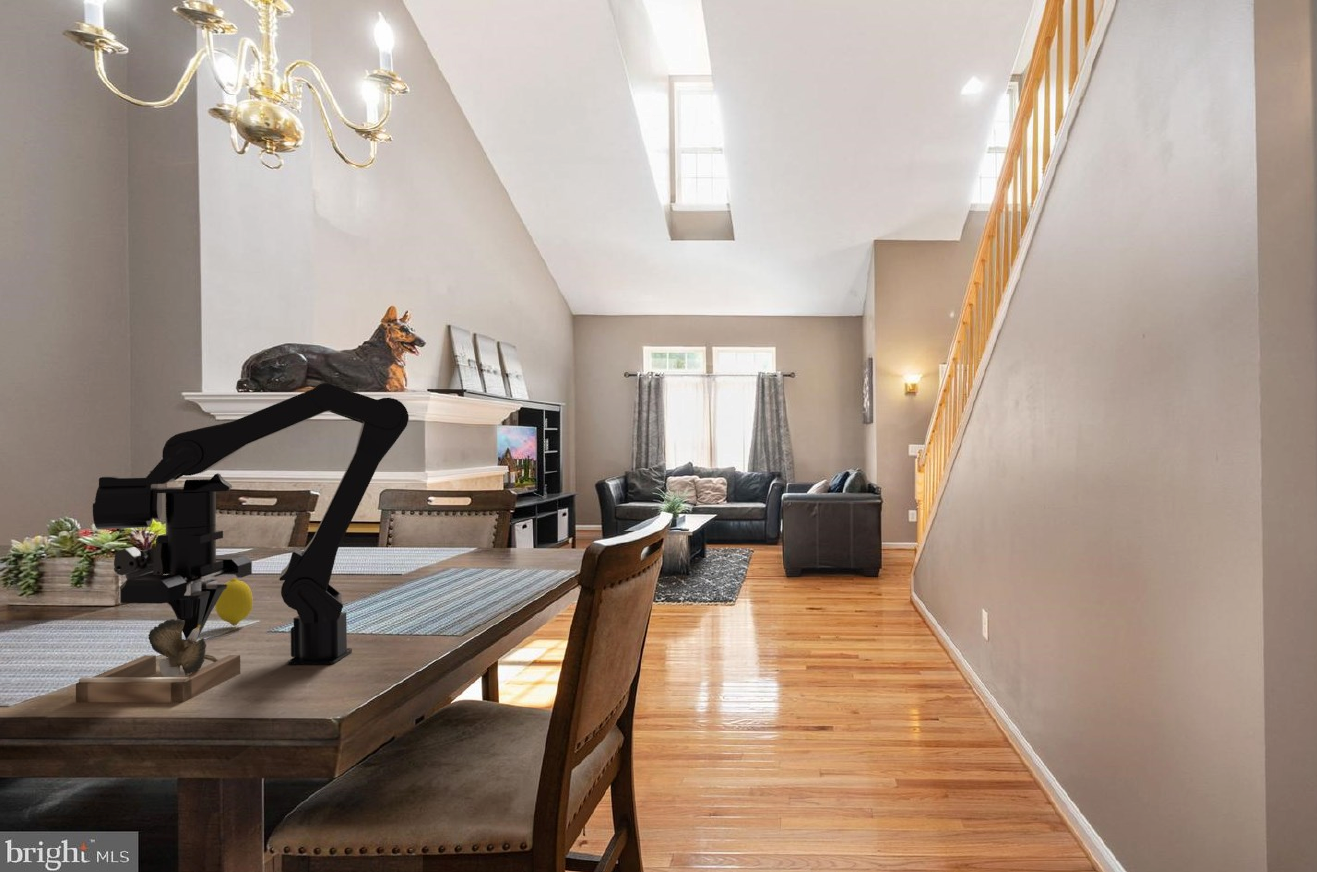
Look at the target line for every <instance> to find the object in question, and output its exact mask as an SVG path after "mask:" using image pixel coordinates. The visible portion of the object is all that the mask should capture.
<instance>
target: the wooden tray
mask: <svg viewBox="0 0 1317 872" xmlns="http://www.w3.org/2000/svg"><path fill="white" fill-rule="evenodd" d="M217 660H218V661H216V662H212V663H210V664H208V665H206V666H203V667H201V668H200V669H199V670H197V671H195V672H193V673H192V672H191V673H190V674H189V673H188V674H187V675H185V676H179V677H164V676H159V677H158V676H155V677H154V676H153V675H155V674H157V655H152V654H151V655H147V654H146V655H143V656H140V657H138V658H136V659H133V660H131V661H128V662H125V663H123V664H121V665H119V666H116V667H113V668H110V669H109V670H106V671H104V672H100V673H99V674H96V675H94V676H89V677H85V676H84V677H81V678H78V682H77V683H75V702H76V703H185V702H187V701H189V700H191V699H193V698H195V697H197V696H199V695H201V694H203V693H205V692H206V691H209V690H210V689H213V688H215V687H217V686H219V685H221V684H223V683H224V682H227V681H229V680H231V679H233V678H235V677H236V676H238V675H240V674H241V655H240V654H229V655H227V656H225V657H223V658H220V659H217Z"/></svg>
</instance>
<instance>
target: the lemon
mask: <svg viewBox="0 0 1317 872" xmlns="http://www.w3.org/2000/svg"><path fill="white" fill-rule="evenodd" d="M224 584H226V585H227V588H226V589H224V590H223V592H222V594H221V596H220V597H219V599H218V601H217V603H216V604H215V606H214V608H215V612H216V614H217V616H218V617H219V619H221V620H222V621H224V622H227V623H228V624H229V625H231V626H237V625H238V624H239V623H240V622H242V621H243V620H244V619H246V618H247V617H248V616H249V615H250V613H251V611H252V609H253V605H254V599H253V593H252V590H251V588H250V586H249V585H248V584H247V583H246V582H244V581H242V580H239V579H238V578H237V577H236V578H235V577H233V578H231V579H230V580H229V581H227V582H225V583H224Z"/></svg>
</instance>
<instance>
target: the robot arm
mask: <svg viewBox="0 0 1317 872" xmlns="http://www.w3.org/2000/svg"><path fill="white" fill-rule="evenodd" d="M328 412H329V413H332V414H335V415H338V416H340V417H343V418H346V419H348V420H352V421H354V422H358V423H360V424H361V427H360V430H359V434H358V438H357V443H356V446H355V450H354V453H353V455H352V457H351V459H350V462H349V463H348V465H347V468H346V469H345V471H344V473H343V476H342V478H341V480H340V482H339V484H338V485H337V487H336V490H335V492H334V494H333V496H332V498H331V500H330V502H329V505H328V507H327V508H326V511H325V512H324V514H323V517H322V519H321V521H320V523H319V525H318V527H317V529H316V531H315V533H314V535H313V537H312V539H311V540H310V541H309V543H308V544H307V545H306V546H305V547H304V549H303V550H301V549H300V548H299V547H296V546H294V547H293V549H292V553H291V556H290V559H289V562H288V564H287V565H286V566H285V568H284V569H282V571H281V572H280V575H279V578H278V580H279V581H282V584H281V590H280V595H281V598H282V601H283V602H284V604H285V605H286V606H287V607H289V608H290V609H293V610H294V611H296V612H297V613H296V614H297V616H295V617H293V626H292V627H291V628H290V630H289V631H290V633H289V634H290V657H291V658H290V659H288V660H287V665H334V664H336V663H337V662H338V661H341V660H342V659H343V658H345V657H347V656H348V655H349V654H350V653H352V652H353V648H351V647H348V644H347V643H348V637H347V635H348V634H347V633H348V631H347V630H348V629H347V627H348V626H347V621H348V619H347V618H348V617H347V616H348V615H347V612H345V611H344V612H343V611H342V610H343V608H344V603H343V597H342V596H343V595H342V593H340V591H338V590H337V589H336V588H334V587H333V586H332V585H331V584H330V582H331V576H332V574H333V570H334V565H335V562H336V557H337V554H338V549H339V548H340V545H341V543H342V541H343V539H344V537H345V535H346V532H347V530H348V529H349V527H350V525H351V522H352V520H353V519H354V516H355V514H356V512H357V510H358V508H359V506H360V504H361V502H362V499H363V498H364V495H365V494H366V491H367V489H368V487H369V485H370V483H371V481H372V479H373V476H374V475H375V472H376V470H377V468H378V466H379V464H380V463H381V462H382V460H383V458H384V457H385V456H386V455H387V453H388V452H389V451H390V449H391V448H392V447H393V446H394V445H395V443H396V442H397V440H398V439H399V438H400V437H401V435H402V433H403V432H404V431H405V429H406V427H407V426H408V423H409V420H410V419H409V417H410V416H409V411H408V409H407V408H406V405H404V404H403V402H401V401H400V400H399V399H396V398H393V397H382V398H379V399H375V398H373V397H370V396H367V395H364V394H361V393H358V392H354V391H351V390H349V389H345V388H342V387H340V386H337V385H336V384H334V383H331V382H324V383H323V382H322V383H319V384H317V385H316V386H315V387H313V388H311V389H309V390H307V391H304V392H302V393H299V394H297V395H294V396H291V397H290V398H287V399H284V400H282V401H280V402H277V403H274V404H272V405H269V406H267V407H265V408H263V409H260V410H258V411H255V412H252V413H250V414H247V415H245V416H243V417H240V418H238V419H235V420H233V421H228V422H224V423H220V424H214V425H210V426H206V427H200V428H196V429H192V430H188V431H184V432H183V431H182V432H179V433H176V434H174V435H172V436H171V437H170V438H169V439H167V440H166V441H165V444H164V447H163V448H162V459H161V460H160V461H159V462H158V463H157V464H156V465H155V467H153V468H152V470H150V471H149V473H148V474H147V476H146V477H119V476H101V477H99V478H98V486H97V487H98V488H97V489H96V493H95V499H94V502H93V503H92V518H93V523H94V526H95V527H94V528H95V529H96V530H115V529H116V530H117V529H119V530H120V529H121V530H122V529H137V528H138V529H140V528H141V529H142V528H151V526H152V525H153V521H154V520H160V519H161V517H162V514H163V494H165V533H164V534H160V535H159V534H158V535H157V537H156V539H155V546H154V547H152V548H149V549H144V550H139V549H138V548H137V547H135V546H132V547H127V548H123V549H120V550H117V551H115V552H114V559H113V560H114V561H113V566H114V568H113V571H114V573H115V574H117V575H119V576H124V577H125V579H126V580H125V581H124V582H123V583H122V584H121V585H120V586H119V603H120V604H167V605H169V606H170V608H171V609H172V611H173V613H174V615H175V617H176V620H177V619H180V620H184V621H185V624H184V627H183V630H182V634H183V636H184V639H186V638H188V636H189V635H190V633H191V632H192V630H193V629H195V628H197V627H198V625H201V626H200V629H199V635H198V638H197V640H198V639H199V637H200V635H201V633H202V631H203V629H204V627H205V625H206V623H207V621H208V619H209V617H210V615H211V613H212V611H213V609H214V608H215V604H216V603H217V601H218V599H219V597H220V596H221V594H222V592H223V590H224V589H226V588H227V585H226V584H225V583H223V584H218V579H217V578H216V577H220V576H223V575H235V576H236V579H238V578H245V577H247V576H251V575H252V574H253V569H252V568H253V565H252V564H253V562H252V560H251V559H250V558H249V557H248V556H247V555H242V554H241V555H239V554H238V555H237V554H235V555H234V554H233V555H232V554H217V540H220V539H223V538H224V531H223V530H217V526H216V525H217V521H216V518H217V517H216V516H217V513H216V512H217V510H216V509H217V507H216V505H217V504H216V503H217V502H216V499H217V498H216V497H217V496H216V495H217V494H216V493H218V492H219V493H220V492H229V491H230V490H231V489H232V488H233V486H232V485H233V484H231V483H230V482H228V481H227V480H226V479H224V477H222V475H221V473H219V472H218V473H215V474H214V475H213V476H212V477H211V478H203V479H200V478H198V479H195V478H194V479H185V481H184V484H183V486H177V487H176V486H175V487H173V486H172V487H158V485H163V484H167V483H172V482H175V481H177V480H178V479H180V478H182V477H183V476H185V477H186V476H194V475H198V474H202V473H205V472H207V471H208V470H210V469H213V467H215V466H217V465H219V464H220V463H222V462H224V460H226V459H228V458H229V457H231V456H233V455H234V454H235V453H238V451H240V450H241V449H243V448H245V447H246V446H248V445H251V444H252V443H256V442H257V441H260V440H261V439H265V438H267V437H270V436H271V435H274V434H277V433H279V432H282V431H284V430H286V429H288V428H290V427H293V426H295V425H298V424H300V423H303V422H305V421H307V420H310V419H312V418H315V417H317V416H319V415H322V414H324V413H328Z"/></svg>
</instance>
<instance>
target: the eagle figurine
mask: <svg viewBox="0 0 1317 872" xmlns="http://www.w3.org/2000/svg"><path fill="white" fill-rule="evenodd" d="M184 624H185V621H184V620H180V619H177V618H176V619H175V618H171V619H167V620H165V621H164V622H160V623H159V624H158V626H154V627H153V628H152V629H150V631H149V633H148V640H149V644H150V645H151V648H152V650H153V651H154V652H156V653H158V654H160V655H162V656H164V657H166V658H162V659H160V660H159V661H158V668H159V672H160V674H162V677H181V676H180V675H181V667H182V670H183V673H184V675H185V676H187V675H189V674H191V673H193V672H195V671H197V670H199V669H201V668H202V666H203V663H204V661H205V660H208V661H211V662H212V663H214V662H216V661H218V660H219V659H218V658H217V657H215V656H213V655H210V654H206V652H207V651H206V650H207V649H206V647H207V643H206V641H205V638H204V637H203V638H201V639H199V637H198V635H199V629H200V626H201V625H198V627H197V628H195V629H193V630H192V632H191V633H190V635H189V636H188V638H183V631H182V630H183V627H184ZM199 636H200V635H199ZM197 638H198V639H199V640H198V639H197Z"/></svg>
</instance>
